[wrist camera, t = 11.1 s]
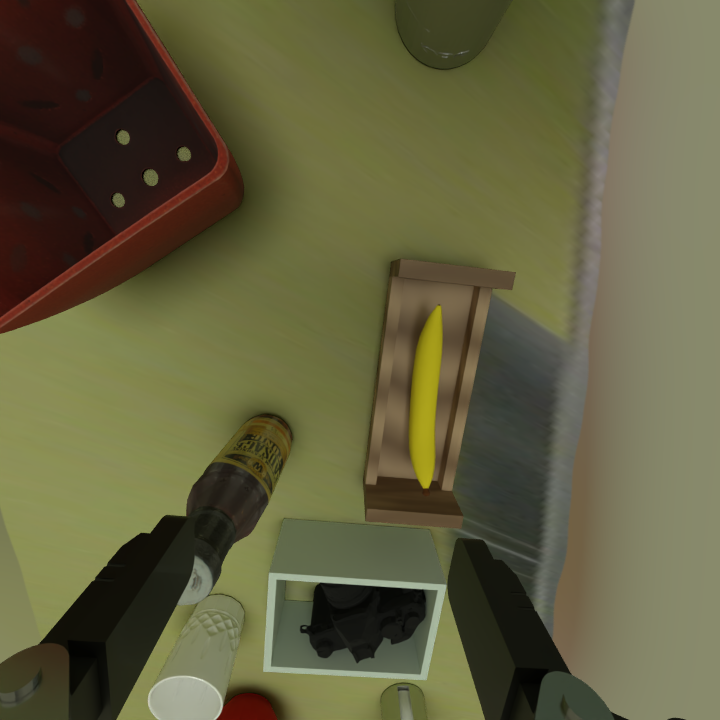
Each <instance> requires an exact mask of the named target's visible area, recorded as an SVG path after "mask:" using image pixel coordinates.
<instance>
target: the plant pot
mask: <svg viewBox="0 0 720 720" xmlns="http://www.w3.org/2000/svg"><path fill="white" fill-rule="evenodd" d="M119 129H124V130H126V131H127V132H128V133H129V136H130V140H129V143H128V144H126V145H122V144H121V143H118V142H117V140H116V138H115V134H116V132H117V131H118V130H119ZM181 146H186V147H187V148H188V149H189V150H190V152H191V159H190V160H188V161H184V162H183V161H180V160H179V159H178V158H177V156H176V151H177V149H178V148H179V147H181ZM147 168H151V169H153V170H155V171H156V172H157V174H158V178H159V179H158V183H157V184H156V185H155V186H148V185H147V184H145V183H144V181H143V180H142V172H143V171H144V170H145V169H147ZM115 192H117V193H120V194H122V195H123V197H124V199H125V204H124V206H123V207H120V208H118V207H115V206H114V205H113V204H112V202H111V196H112V194H113V193H115ZM243 195H244V184H243V180H242V176H241V173H240V170H239V168H238V166H237V164H236V161H235V159H234V157H233V156H232V154H231V152H230V150H229V149H228V147H227V145H226V144H225V142H224V141H223V139H222V137H221V136H220V134H219V133H218V131H217V129H216V128H215V126H214V125H213V123H212V122H211V120H210V118H209V117H208V115H207V114H206V112H205V110H204V109H203V107H202V106H201V104H200V103H199V101H198V99H197V98H196V96H195V95H194V93H193V91H192V90H191V88H190V87H189V85H188V83H187V82H186V80H185V79H184V77H183V75H182V74H181V72H180V70H179V69H178V67H177V66H176V64H175V62H174V61H173V59H172V58H171V56H170V54H169V53H168V51H167V49H166V48H165V46H164V45H163V43H162V42H161V40H160V38H159V37H158V35H157V34H156V32H155V30H154V29H153V27H152V26H151V24H150V22H149V21H148V19H147V18H146V16H145V14H144V13H143V11H142V10H141V8H140V6H139V5H138V3H137V2H136V0H0V334H1V333H5V332H8V331H12V330H15V329H17V328H20V327H23V326H26V325H29V324H32V323H35V322H38V321H40V320H43V319H46V318H48V317H51V316H53V315H56V314H58V313H61V312H63V311H66V310H68V309H70V308H72V307H75V306H77V305H79V304H82V303H84V302H86V301H88V300H90V299H93V298H95V297H97V296H99V295H101V294H103V293H105V292H107V291H109V290H111V289H112V288H114V287H116V286H118V285H120V284H122V283H123V282H125V281H127V280H128V279H130V278H132V277H134V276H135V275H137V274H139V273H140V272H142V271H143V270H145V269H146V268H148V267H149V266H151V265H152V264H154V263H155V262H157V261H158V260H160V259H161V258H163V257H164V256H166V255H167V254H169V253H171V252H172V251H174V250H175V249H176V248H178V247H180V246H181V245H183V244H184V243H186V242H187V241H189V240H190V239H192V238H193V237H195V236H196V235H198V234H199V233H201V232H202V231H204V230H205V229H207V228H208V227H210V226H211V225H213V224H214V223H216V222H217V221H219V220H220V219H222V218H223V217H225V216H226V215H228V214H229V213H231V212H232V211H234V210H235V209H237V208H238V207H239V205H240V204H241V202H242V200H243Z"/></svg>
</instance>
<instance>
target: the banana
mask: <svg viewBox="0 0 720 720" xmlns="http://www.w3.org/2000/svg"><path fill="white" fill-rule="evenodd" d="M442 345H443V325H442V308H441V305H440V304H438V305H437V306H436V307H435V309H434V310H433V311H432V312H431V314H430V315H429V317H428V319H427V321H426V323H425V325H424V328H423V330H422V332H421V335H420V338H419V341H418V345H417V348H416V354H415V360H414V367H413V375H412V386H411V398H410V413H409V450H410V458H411V462H412V466H413V469H414V472H415V474H416V477H417V479H418V481H419V482H420V484H421V486H422V487H423V492H422V494H423V495H424V496H426V497H427V496H429V495H430V492H429V489H428V488H429V486H430V484H431V481H432V479H433V474H434V469H435V458H436V451H435V421H436V406H437V395H438V386H439V377H440V369H441V359H442Z"/></svg>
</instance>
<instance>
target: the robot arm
mask: <svg viewBox="0 0 720 720" xmlns="http://www.w3.org/2000/svg"><path fill="white" fill-rule="evenodd" d="M511 2H512V0H396V3H395V13H396V22H397V26H398V31H399V33H400V36H401V38H402V40H403V43H404V44H405V46H406V47H407V48H408V50H409V51H410V53H411V54H412V55H413V56H415V57H416V58H417V59H418V60H419V61H421V62H422V63H424V64H426V65H428V66H431V67H434V68H438V69H450V68H454V67H459V66H461V65H463V64H465V63H467V62H469V61H470V60H472V59H473V58H474V57H475V56H477V55H478V54H479V52H480V51H481V50H482V49H483V48H484V46H485V45H486V44H487V42H488V40H489V39H490V37H491V35H492V34H493V32H494V30H495V28H496V27H497V25H498V23H499V22H500V20H501V18H502V17H503V15H504V13H505V12H506V10H507V9H508V7H509V5H510V3H511ZM194 560H195V535H194V518H193V517H187V516H174V515H165V516H164V517H163V518H162V519H161V520H160V521H159V523H158V524H157V525H156V527H155V528H154V529H153V531H152V532H151V533H140V534H139V535H137V536H136V537H134V538H133V539H132V540H130V541H129V542H127V543H126V544H124V545H123V546H122V547H121V548H120V549H119V550H118V551H117V553H116V554H115V555H114V556H113V557H112V558H111V560H110V561H109V562H108V564H107V566H106V567H104V568H103V569H102V570H101V571H100V573H99V574H98V575H97V576H96V577H95V580H94V581H92V582H91V583H90V584H89V586H88V587H87V588H86V589H85V590H84V592H83V593H82V594H81V595H80V596H79V598H78V599H77V600H76V601H75V602H74V603H73V605H72V606H71V607H70V608H69V609H68V611H67V612H66V613H65V614H64V615H63V616H62V618H61V619H60V620H59V621H58V622H57V624H56V625H55V626H54V627H53V628H52V629H51V631H50V632H49V633H48V634H47V635H46V637H45V638H44V639H43V640H42V641H41V642H40V644H38V645H36V646H32V647H30V648H27V649H25V650H22V651H20V652H18V653H16V654H14V655H13V656H11V657H10V658H8V659H6V660H5V661H3V662H2V663H1V664H0V720H116V719H117V717H118V715H119V713H120V711H121V709H122V708H123V706H124V704H125V702H126V700H127V698H128V696H129V694H130V692H131V691H132V689H133V687H134V685H135V683H136V681H137V679H138V677H139V675H140V673H141V672H142V670H143V668H144V666H145V664H146V662H147V660H148V658H149V656H150V655H151V653H152V651H153V649H154V647H155V645H156V643H157V641H158V639H159V638H160V636H161V634H162V632H163V630H164V628H165V626H166V624H167V622H168V620H169V619H170V617H171V615H172V613H173V611H174V609H175V607H176V605H177V603H178V602H179V600H180V598H181V596H182V594H183V592H184V590H185V588H186V586H187V584H188V582H189V580H190V577H191V574H192V571H193V567H194ZM448 596H449V601H450V605H451V608H452V611H453V615H454V618H455V621H456V625H457V628H458V631H459V635H460V638H461V641H462V645H463V648H464V651H465V654H466V658H467V661H468V664H469V668H470V671H471V674H472V678H473V681H474V684H475V688H476V691H477V694H478V697H479V701H480V704H481V707H482V711H483V714H484V717H485V720H628V719H626V718H623V717H621V716H619V715H616V714H614V713H612V712H611V711H610V710H609V708H608V707H607V705H606V704H605V702H604V701H603V700H602V699H601V698H600V697H599V696H598V694H597V693H596V692H595V691H594V690H593V689H592V688H591V687H589V686H588V685H587V684H586V683H584V682H583V681H582V680H580V679H578V678H576V677H575V676H573V675H572V674H571V673H570V671H569V669H568V668H567V666H566V664H565V662H564V661H563V659H562V657H561V655H560V653H559V652H558V649H557V648H556V646H555V644H554V642H553V640H552V639H551V637H550V635H549V633H548V631H547V630H546V628H545V626H544V624H543V622H542V620H541V619H540V617H539V615H538V613H537V611H535V610H534V606H533V604H532V602H531V601H530V599H529V597H528V596H526V592H525V590H524V588H523V586H522V584H521V582H520V581H519V579H518V577H517V575H516V574H515V573H514V572H513V571H512V570H511V569H510V568H509V567H508V566H507V565H506V564H505V563H504V562H503V561H502V560H494V559H493V557H492V555H491V553H490V551H489V549H488V547H487V545H486V543H485V542H484V541H483V540H480V539H466V538H458V539H457V540H456V543H455V547H454V552H453V556H452V561H451V566H450V571H449V575H448ZM668 720H685V719H680V718H671V719H668Z"/></svg>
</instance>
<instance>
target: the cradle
mask: <svg viewBox="0 0 720 720" xmlns="http://www.w3.org/2000/svg"><path fill="white" fill-rule="evenodd" d="M515 274H516V272H509V271H500V270H492V269H484V268H475V267H467V266H458V265H450V264H441V263H433V262H424V261H416V260H408V259H398V260H395V261H392V262H391V268H390V276H389V284H388V291H387V299H386V307H385V315H384V322H383V330H382V338H381V346H380V354H379V361H378V369H377V377H376V385H375V392H374V400H373V408H372V416H371V424H370V431H369V439H368V447H367V455H366V462H365V470H364V478H363V488H364V504H365V521H369V522H382V523H395V524H408V525H421V526H434V527H447V528H460V529H461V525H462V521H463V514H462V512H461V510H460V508H459V506H458V503H457V501H456V499H455V497H454V495H453V493H452V487H453V482H454V477H455V472H456V467H457V462H458V457H459V452H460V447H461V442H462V437H463V432H464V428H465V423H466V418H467V413H468V408H469V403H470V398H471V393H472V388H473V383H474V378H475V373H476V368H477V363H478V358H479V353H480V348H481V343H482V338H483V333H484V328H485V323H486V318H487V313H488V308H489V303H490V298H491V293H492V288H495V289H506V290H512V288H513V283H514V278H515ZM438 304H440V305H441V308H442V325H443V345H442V359H441V369H440V377H439V386H438V395H437V406H436V421H435V451H436V458H435V469H434V474H433V479H432V481H431V484H430V486H429V488H428V489H429V492H430V495H429V496H427V497H426V496H424V495H423V494H422V492H423V487H422V486H421V484H420V482H419V481H418V479H417V477H416V474H415V472H414V469H413V466H412V462H411V458H410V450H409V413H410V398H411V386H412V375H413V367H414V360H415V354H416V348H417V345H418V341H419V338H420V335H421V332H422V330H423V328H424V325H425V323H426V321H427V319H428V317H429V315H430V314H431V312H432V311H433V310H434V309H435V307H436V306H437V305H438Z"/></svg>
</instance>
